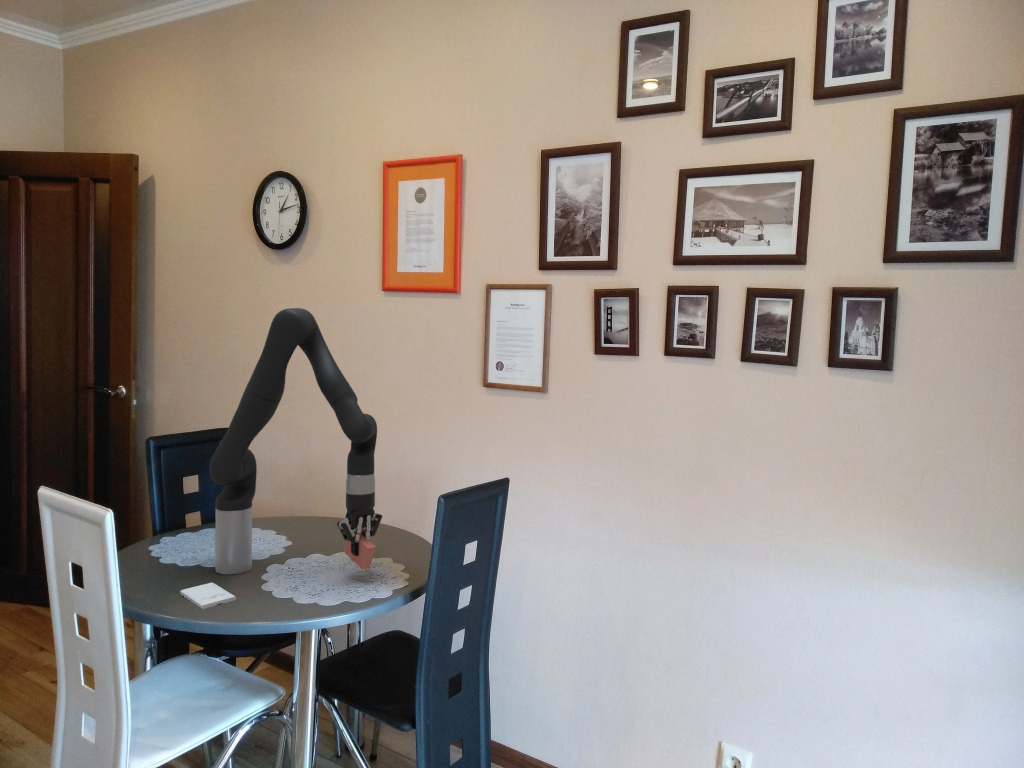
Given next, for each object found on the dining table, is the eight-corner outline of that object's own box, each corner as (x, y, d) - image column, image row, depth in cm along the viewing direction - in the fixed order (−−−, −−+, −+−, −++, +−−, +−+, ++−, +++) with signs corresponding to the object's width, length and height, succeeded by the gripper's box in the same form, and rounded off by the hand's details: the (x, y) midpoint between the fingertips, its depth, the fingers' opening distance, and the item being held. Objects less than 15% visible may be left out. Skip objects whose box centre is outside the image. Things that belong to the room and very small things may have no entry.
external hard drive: (213, 588, 175) (236, 602, 166) (180, 596, 169) (202, 611, 160) (213, 581, 175) (236, 595, 166) (180, 590, 169) (202, 604, 160)
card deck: (343, 551, 185) (348, 530, 183) (350, 549, 186) (355, 529, 185) (363, 569, 179) (368, 548, 178) (370, 567, 181) (375, 546, 179)
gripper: (372, 483, 188) (371, 545, 190) (329, 491, 178) (329, 557, 179) (390, 488, 183) (389, 551, 185) (347, 496, 173) (346, 563, 174)
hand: (359, 554), depth 182 cm, fingers closed on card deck, 2 cm apart
